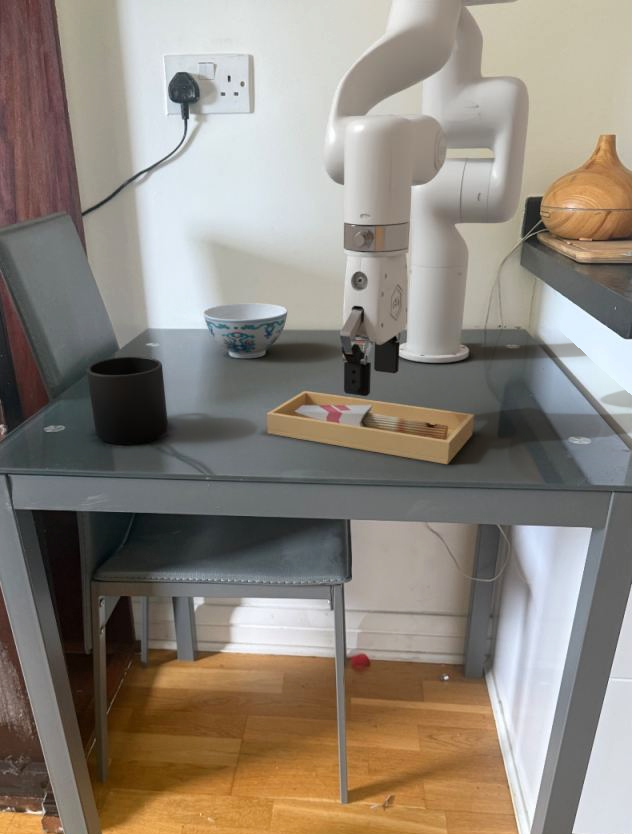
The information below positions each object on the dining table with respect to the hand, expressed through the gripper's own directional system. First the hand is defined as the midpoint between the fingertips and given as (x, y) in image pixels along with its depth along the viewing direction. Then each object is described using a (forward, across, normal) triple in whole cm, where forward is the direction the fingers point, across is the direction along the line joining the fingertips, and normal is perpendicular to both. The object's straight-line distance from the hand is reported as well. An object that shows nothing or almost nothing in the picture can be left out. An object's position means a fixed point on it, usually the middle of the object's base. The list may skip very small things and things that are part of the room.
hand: (372, 382), depth 90 cm
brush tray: (+7, -1, 0) cm, 7 cm away
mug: (+7, -12, +29) cm, 32 cm away
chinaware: (+8, +28, +36) cm, 47 cm away
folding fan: (+6, -1, 0) cm, 6 cm away
